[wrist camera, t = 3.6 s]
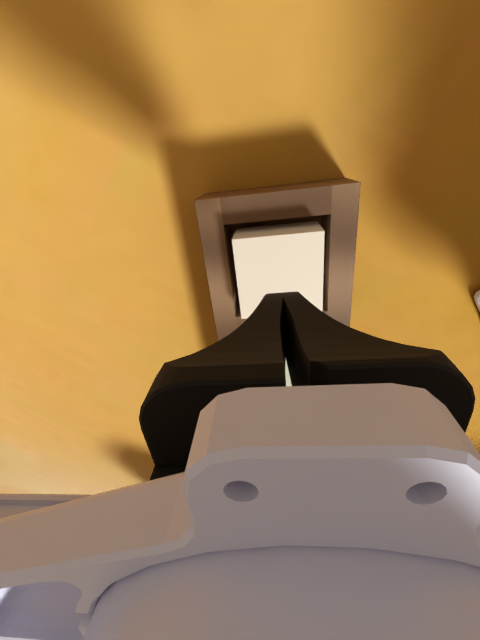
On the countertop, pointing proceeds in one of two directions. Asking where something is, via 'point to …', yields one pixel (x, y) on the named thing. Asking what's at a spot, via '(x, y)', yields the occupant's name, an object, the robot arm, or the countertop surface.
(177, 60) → the countertop surface
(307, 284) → the key cream
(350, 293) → the board
